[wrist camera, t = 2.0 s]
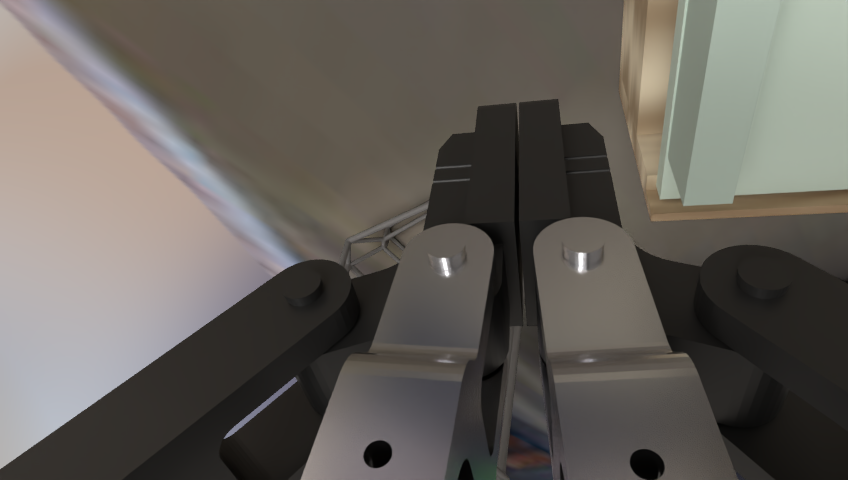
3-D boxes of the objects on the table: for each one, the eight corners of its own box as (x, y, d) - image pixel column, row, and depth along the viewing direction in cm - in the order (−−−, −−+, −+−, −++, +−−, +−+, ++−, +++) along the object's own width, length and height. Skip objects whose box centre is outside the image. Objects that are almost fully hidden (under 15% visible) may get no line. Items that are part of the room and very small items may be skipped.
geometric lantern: (425, 309, 59) (336, 749, 34) (324, 208, 52) (112, 678, 26) (561, 258, 51) (577, 785, 26) (465, 131, 44) (354, 697, 18)
